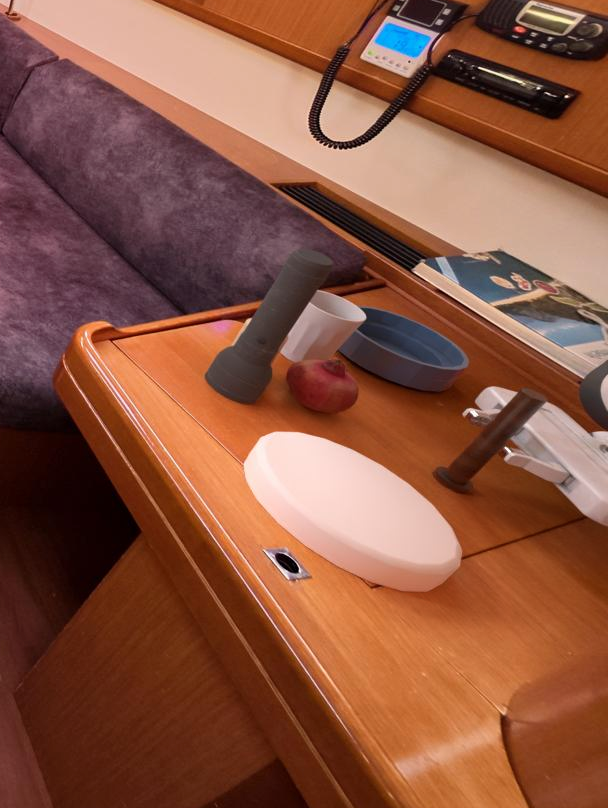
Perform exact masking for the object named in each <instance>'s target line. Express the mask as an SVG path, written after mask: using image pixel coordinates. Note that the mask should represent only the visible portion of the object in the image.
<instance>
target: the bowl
mask: <svg viewBox="0 0 608 808" xmlns="http://www.w3.org/2000/svg"><path fill="white" fill-rule="evenodd" d="M356 306H357V307H359V308H360V309H361V310H362V311H363V312H364V313H365V315H366V320H365V321H364V322H363V323H362V324H361V325H360V326H359V327H358V328H357V329H356V330H355V331H354V332H353V334H352V335H351V336H350V337H349V338H348V339H347V340H346V341H345V342H344V343H343V344H342V346H341V347H340V348H339V349H338V350H337V351H339V352H340V353H341V354H342V355H344V357H346V358H347V359H349V360H350V361H351V362H354V363H355V364H356V365H357V366H358V365H359V366H360V367H361V368H362V369H365V370H367V371H368V372H370V373H372V374H374V375H377V376H378V377H380V378H383V379H385V380H388V381H390V382H394V383H396V384H398V385H400V386H401V385H402V386H404V387H407V388H411V389H416V390H420V391H425V392H442V391H446V390H449V389H450V388H451V387H452V386H453V385H454V383H455V382H456V381H457V380H458V379H459V378H460V376H461V375H462V374H463V373H464V372H465V371H466V370H467V368H468V366H469V365H470V364H469V363H470V360H469V358H468V356H467V354H466V352H465V351H464V350H462V348H460V347H459V346H458V345H457V344H456V343H455V342H453V341H452V340H451V339H449V338H448V337H446V336H445V335H443V334H442V333H440V332H438V331H437V330H435V329H433V328H431V327H429V326H427V325H425V324H423V323H421V322H418V321H417V320H414V319H412V318H409V317H407V316H405V315H401V314H400V313H396V312H393V311H389V310H387V309H382V308H378V307H373V306H370V305H369V306H368V305H356Z"/></svg>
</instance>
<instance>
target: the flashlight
mask: <svg viewBox="0 0 608 808" xmlns="http://www.w3.org/2000/svg"><path fill="white" fill-rule="evenodd" d="M333 269H334V263H333V260H332V259H331V258H330V257H328V256H327V255H325V254H324V253H321V252H319V251H316V250H313V249H308V248H304V247H303V248H301V247H300V248H297V249H295V250H292V251H291V252H290V254H289V256H288V258H287V259H286V261H285V263H284V264H283V266H282V268H281V271H280V272H279V274H278V275H277V277H276V278H275V280H274V282H273V283H272V285H271V286H270V288H269V290H268V292H267V293H266V295H265V297H264V298H263V300H262V301H261V303H260V305H259V306H258V308H257V309H256V311H255V312H254V314H253V316H252V317H251V318H252V319H251V321H250V322H249V324H248V326H247V327H246V329H245V330H244V332H243V333H242V334H241V335H240V337H239V338H238V340H237V342H236V343H235V345H234V346H231V345H230V346H227V347H225V348H223V349H222V350H220V351H219V352H218V354H216V356H215V357H214V359H213V361H212V362H211V364H210V365H209V367H208V369H207V370H206V372H205V374H204V378H205V381H206V382H207V384H208V385H209V386H210V387H211V388H212V389H213V390H215V392H217V393H219V394H220V395H221V396H223V397H225V398H227V399H229V400H231V401H234V402H236V403H240V404H245V405H252V404H256V403H257V402H258V401H259V399H260V398H261V397H262V395H263V394H264V392H265V391H266V389H267V387H268V386H269V385H270V382H271V380H272V378H273V367H272V365H271V364H270V363H271V361H272V360H273V358H274V357H275V355H276V354H277V352H278V350H279V347H280V346H281V344H282V343H283V341H284V340H285V338H286V337H287V335H288V334H289V332H290V331H291V329H292V328H293V326H294V325H295V323H296V322H297V320H298V319H299V317H300V316H301V314H302V313H303V311H304V310H305V308H306V307H307V305H308V304H309V302H310V301H311V299H312V298H313V296H314V295H315V293H316V292H317V290H319V288H320V287H321V286H323V284H324V283H325V281H326V280H327V278H328V277H329V276H330V274H331V272H332V271H333Z"/></svg>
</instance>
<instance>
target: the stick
mask: <svg viewBox="0 0 608 808" xmlns="http://www.w3.org/2000/svg"><path fill="white" fill-rule="evenodd" d="M517 392H518V393H517V394H516V395H515V396H514V397H513V398H512V399H511V400H510V401H509V403H508V404H507V405H506V406H505V407H504V408H503V409H502V410H501V411H500V412H499V413H498V414H497V415H496V416H495V418H494V419H493V420H492V421H491V422H490V423H487V425H486V426H485V427H483V429H482V430H481V431H480V433H478V435H476V436H475V438H474V439H473V440H472V441H470V443H469V444H468V445H467V446H466V447H465V448H464V449H463V450H462V451H461V452H460V454H458V455H457V456H456V458H455V459H454V460H453V461H452V462H451V463H450V464H449V465H448V467H447V466H437V467H436V468H435V469H434V470H433V472H432V475H433V477H434V478H435V480H436V481H437V482H438V483H440V484H441V485H442V486H444V487H445V488H448V489H449V490H452V491H454V492H456V493H459V494H463V495H468V494H470V493H471V492H472V491H473V490H474V488H475V486H474V483H473V482H472V481H471V480H472V479H473V478H474V477H475V476H476V475H477V474H478V473H479V472H480V471H481V470H482V469H483V468H484V467H485V466H486V465H487V463H488V462H490V461H491V459H493V458H494V456H496V455H497V453H498V452H499V451H501V450H502V448H503V447H505V445H506V444H507V443H508V442H509V441H511V438H512V437H513V436H514V435H515V434H516V433H517V432H518V431H519V430H520V429H521V428H522V427H523V426H524V425H525V424H526V423H527V422H528V420H529V419H530V418H531V417H532V416H533V415H534V414H535V413H536V412H537V411H538V410H539V409H540V408H541V407H542V406H543V405H544V404H545V403H546V402H548V401H549V400H548V397H546V396H545V395H544V394H543V393H540V392H538V391H537V390H534V389H531V388H528V387H522V388H521V389H520V390H519V391H517Z"/></svg>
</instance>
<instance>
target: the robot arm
mask: <svg viewBox="0 0 608 808" xmlns="http://www.w3.org/2000/svg"><path fill="white" fill-rule="evenodd" d="M518 392H519V391H514V390H512V389H511V390H510V389H507V388H504V387H500V386H493V385H492V386H491V385H490V386H488V387H486V388H484V389H482V391H481V392H480V393H479V394H478V395H477V397H476V398H475V399H474V403H475V405H476V406H477V407H478V408H479V409H476V408H473V407H469V408H466V409H465V410H464V411H463V412H462V413H461V414H462V417H463V418H464V419H465V420H466V421H467V422H468V423H469V424H470V425H473V426H477V427H480V428H485V427H486V426H487V425H488V424H489V423H490V422H491V421H492V420H493V419H494V418H495V416H496V415H497V414H498V413H499V412H500V411H501V410H502V409H503V408H504V407H505V406H506V405H507V404H508V403H509V401H510V400H511V399H512V398H513V397H514V396H515V395H516V394H517V393H518ZM578 397H579V401H580V403H581V404H580V405H581V406H582V408H583V409H584V411H585V413H586V414H587V415H588V417H589V418H590V419H591V420H592V421H593V422H594V423H595V424H596V425H598V426H599V427H600V428H602V429H603V431H601V430H600V431H593V432H592V431H591V432H589V433H588V432H587V430H586V429H584V428H583V427H582V426H581V424H579V423H578V422H576V421H575V420H574V419H573V418H572V417H571V415H569V414H568V413H566V412H565V410H563V409H561V408H560V407H559V406H556V405H554V404H553V403H550V402H548V401H547V402H546V403H545V404H544V405H543V406H542V407H541V408H540V409H539V410H538V411H537V412H536V413H535V414H534V415H533V416H532V417H531V418H530V419H529V420H528V422H527V423H526V424H525V425H524V426H523V427H522V428H521V429H520V430H519V431H518V432H517V433H516V434H515V435H514V436H513V437H512V438H511V439H510V441H511V442H512V443H514V445H515V446H516V447H517V448H513V447H511V446H503V447H502V448H501V450H499V451H498V452H497V453H498V455H499V456H500V457H501V458H502V459H503V461H504V462H505V463H506V464H508V465H509V466H514V467H517V468H522V469H523V470H525V471H527V472H529V473H531V474H532V475H535V476H537V477H538V478H541V479H542V480H545V481H546V482H551V483H552V484H553V485H554V486H555V487H556V488H557V489H558V490H559V491H560V492H561V493H562V494H563V495H564V496H565V497H566V498H567V499H568V500H569V501H570V502H571V503H572V504H573V505H574V506H575V507H576V509H577V510H578V511H579V512H581V514H582V515H584V516H585V517H586V518H588V519H590V520H592V521H594V522H596V523H598V524H599V525H601V526H604V527H606V528H607V527H608V359H607V360H605V361H604V362H603V363H601V364H600V365H598V366H597V367H595V368H593V369H592V370H591V371H590V372H588V374H586V376H585V377H584V378H583V379H582V380H581V382H580V384H579V388H578ZM604 430H605V431H604Z"/></svg>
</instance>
